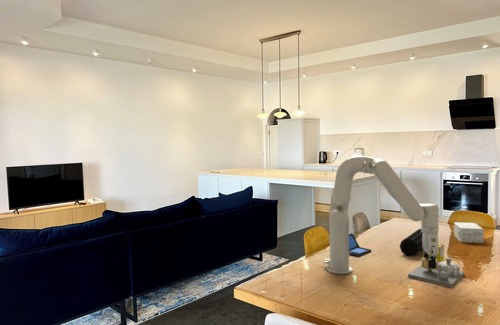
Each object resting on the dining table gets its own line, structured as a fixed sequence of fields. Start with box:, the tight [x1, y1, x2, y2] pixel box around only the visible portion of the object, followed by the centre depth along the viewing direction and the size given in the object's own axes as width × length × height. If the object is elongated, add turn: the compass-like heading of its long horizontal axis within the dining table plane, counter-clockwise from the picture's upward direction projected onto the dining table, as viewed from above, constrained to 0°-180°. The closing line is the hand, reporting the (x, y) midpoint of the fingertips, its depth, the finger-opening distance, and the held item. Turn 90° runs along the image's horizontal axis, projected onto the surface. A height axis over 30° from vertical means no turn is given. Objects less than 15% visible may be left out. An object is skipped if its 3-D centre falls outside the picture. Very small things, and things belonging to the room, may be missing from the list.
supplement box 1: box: [430, 243, 445, 266], centre depth 191 cm, size 6×6×11 cm
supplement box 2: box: [453, 221, 485, 244], centre depth 239 cm, size 17×13×9 cm
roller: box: [399, 228, 423, 257], centre depth 221 cm, size 38×10×10 cm, turn 140°
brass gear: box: [421, 256, 437, 270], centre depth 178 cm, size 7×7×4 cm
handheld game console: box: [349, 233, 372, 258], centre depth 217 cm, size 16×13×9 cm
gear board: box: [407, 257, 465, 288], centre depth 176 cm, size 19×20×8 cm
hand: (429, 265), depth 178 cm, fingers closed on brass gear, 6 cm apart
